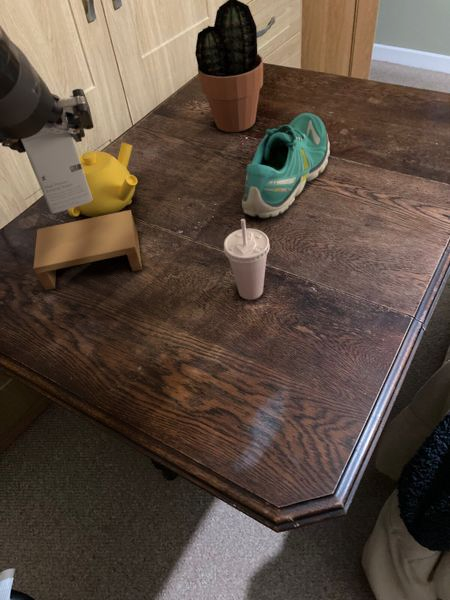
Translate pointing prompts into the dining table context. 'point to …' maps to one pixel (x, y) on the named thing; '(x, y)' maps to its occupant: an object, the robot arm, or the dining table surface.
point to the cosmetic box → (58, 170)
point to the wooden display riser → (85, 244)
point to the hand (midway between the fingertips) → (49, 139)
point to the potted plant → (230, 67)
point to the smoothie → (247, 259)
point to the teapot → (106, 182)
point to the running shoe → (285, 165)
